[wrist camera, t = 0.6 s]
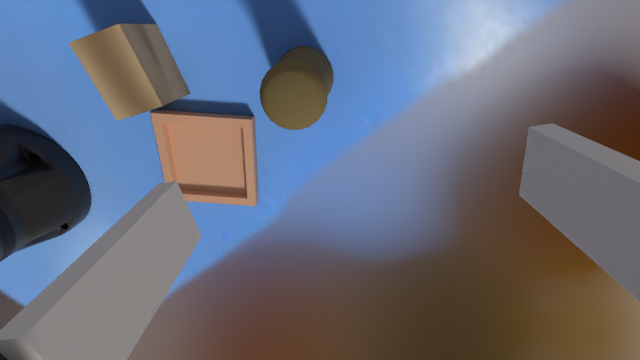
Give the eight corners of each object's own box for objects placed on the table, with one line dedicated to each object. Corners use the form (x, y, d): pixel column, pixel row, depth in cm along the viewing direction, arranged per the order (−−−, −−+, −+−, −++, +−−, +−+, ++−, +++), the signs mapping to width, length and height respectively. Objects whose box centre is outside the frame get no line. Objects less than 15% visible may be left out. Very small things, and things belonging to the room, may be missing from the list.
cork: (279, 41, 30) (251, 48, 20) (338, 51, 30) (340, 64, 20) (273, 101, 32) (247, 133, 23) (328, 110, 33) (325, 146, 23)
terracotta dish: (174, 194, 39) (168, 199, 37) (157, 109, 33) (150, 113, 32) (258, 200, 38) (255, 206, 37) (254, 116, 33) (251, 119, 32)
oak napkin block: (151, 106, 33) (116, 120, 28) (115, 40, 30) (68, 43, 25) (190, 93, 33) (162, 106, 27) (157, 24, 30) (118, 23, 24)
